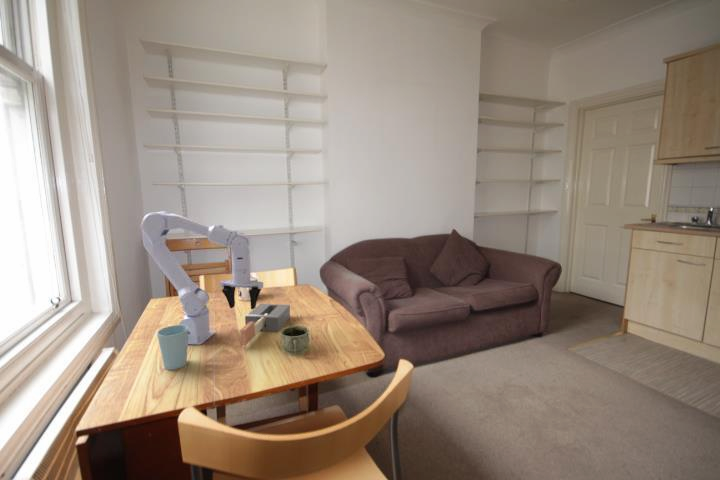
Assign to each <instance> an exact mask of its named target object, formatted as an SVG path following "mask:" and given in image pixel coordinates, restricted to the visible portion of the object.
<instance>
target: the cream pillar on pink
mask: <svg viewBox="0 0 720 480" xmlns="http://www.w3.org/2000/svg"><path fill="white" fill-rule="evenodd" d="M264 315H268V314H267V313H265V314H264ZM265 325H266V317H261V318H260V319H259V320H258V321H257V322H256V323H255V324H254V322H253V321H250V322H248V323H247V324H245V325H244V326H242V327H241V328H240V330H239V332H240V333H239V334H240V346H247V345H248V344H249V343H250V342H251V341H252V340H253V338H255V336H256V335H257V334H258V333H259V332H260V331H261V329H262V328H263V327H264V326H265Z"/></svg>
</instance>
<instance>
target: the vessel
mask: <svg viewBox="0 0 720 480" xmlns="http://www.w3.org/2000/svg"><path fill="white" fill-rule="evenodd" d="M309 331H310V330H309V328H308V327H306V326H303V325H289V326H287V327H284V328H281V329H280V337H281V340H280V344H281V346H282V347H283V349H282V351H283V353H284V354H285V355H290V356H298V355H301V354H304V353H306V352H307V351H308V346H309V343H310V336H309V335H310V333H309Z"/></svg>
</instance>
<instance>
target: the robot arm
mask: <svg viewBox="0 0 720 480" xmlns="http://www.w3.org/2000/svg"><path fill="white" fill-rule="evenodd" d="M139 227H140V229H141V231H142V241H143V242H142V243H143V247H144V248H145V250H146V251H147V253H148V254H149V256H151V258H152V259H153V261H154V262H155V263H156V264H157V266H158V267H159V268H160V270H161V271H162V272H163V274H164V276H166V278H167V279H168V280H169V282H170V283H171V285H173V287H174V289H175V290H176V291H177V294H178V299H179V301H180V302H181V306H182V309H183V312H184V317H183V319H182V320H181V321H180V322H179V324H178V325H185V326H188V328H189V330H188V345H202V344H203V343H204V342H206V341H208V340H209V339H210V338H211V337H212V336H214V335H216V331H213V330H212V331H211V329H210V324H211V323H210V309H209V308H208V306H207V304H208V303H209V300H210V296H209V293H208V292H207V290H204V289H203V288H201V287H200V285H199V284H197V283H195V282H194V281H193V280H192V279H191V278H190V277H189V275H188V273H187V272H186V271H185V270H184V268H183V266H182V265H181V264H180V262H178V260H177V259H176V257H175V256H174V254H173V253H172V252H171V250H170V249H169V248H168V246H167V245H166V243H165V241H166V238H167V235H168V232H169V231H170V230H176V229H180V230H181V229H182V230H184V231H189V232H192V233H195V234H197V235H201V236H205V237H206V238H207V241H208V242H209V243H210V242H211V243H214V244H216V245H219V246H223V247H224V248H230V249H231V253H232V254H231V262H232V263H231V266H232V267H231V268H232V271H231V272H232V279H230V280H229V279H227V280H221V281H220V282H219V283H220V288H222V289H221V292H222V294H223V295H224V296H225V297H226V301H227V303H228V306H229V309H233V308H234V307H235V305H236V300H235V299H236V297H235V296H236V295H235V294H236V288H238V287H242V288H252V289H250V290H249V294H250V299H251V301H250V309H251V310H254V309H255V308H256V307H257V301H258V298H259V296H260V293H261V290H262V289H263V288H264V282H263V281H252V280H251V279H250V276H251V255H250V250H249V249H250V248H249V247H250V238H249V236H248V234H244V233H243V232H238V230H231V229H228V228H226V227H224V225H223V224H217V225H216V224H214V225H211V226H209V225H207V224H203V223H200V222H198V221H196V220H193V219H191V218H187V217H185V216H183V215H180V214H177V213H172V212H171V213H170V212H168V211H165V210H163V211H162V210H161V211H157V212H149V213H147V214H145V215H144V217H143V218H142V220H141V223H140V225H139Z"/></svg>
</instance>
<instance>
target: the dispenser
mask: <svg viewBox="0 0 720 480" xmlns="http://www.w3.org/2000/svg"><path fill="white" fill-rule="evenodd" d="M265 313H267V314H268V315H264V314H265ZM261 317H266V325H265V326H264V327H263V328H262V329H261V330H260V331H264V332H266V331H267V332H279V331H281V330H282V327H284V325H285V324H286V323H287V321H288V320H289V319H290V317H291V305H290V304H275V303H274V304H273V303H271V304H270V303H259V304H258V305H256V308H254V309H251V311H249V313H245V314H244V320H245V321H244V322H245V323H244V324H245V325H246V324H247V323H248V322H250V321H253V322H254V324H255V323H256V322H257V321H258V320H259V319H260V318H261Z"/></svg>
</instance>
